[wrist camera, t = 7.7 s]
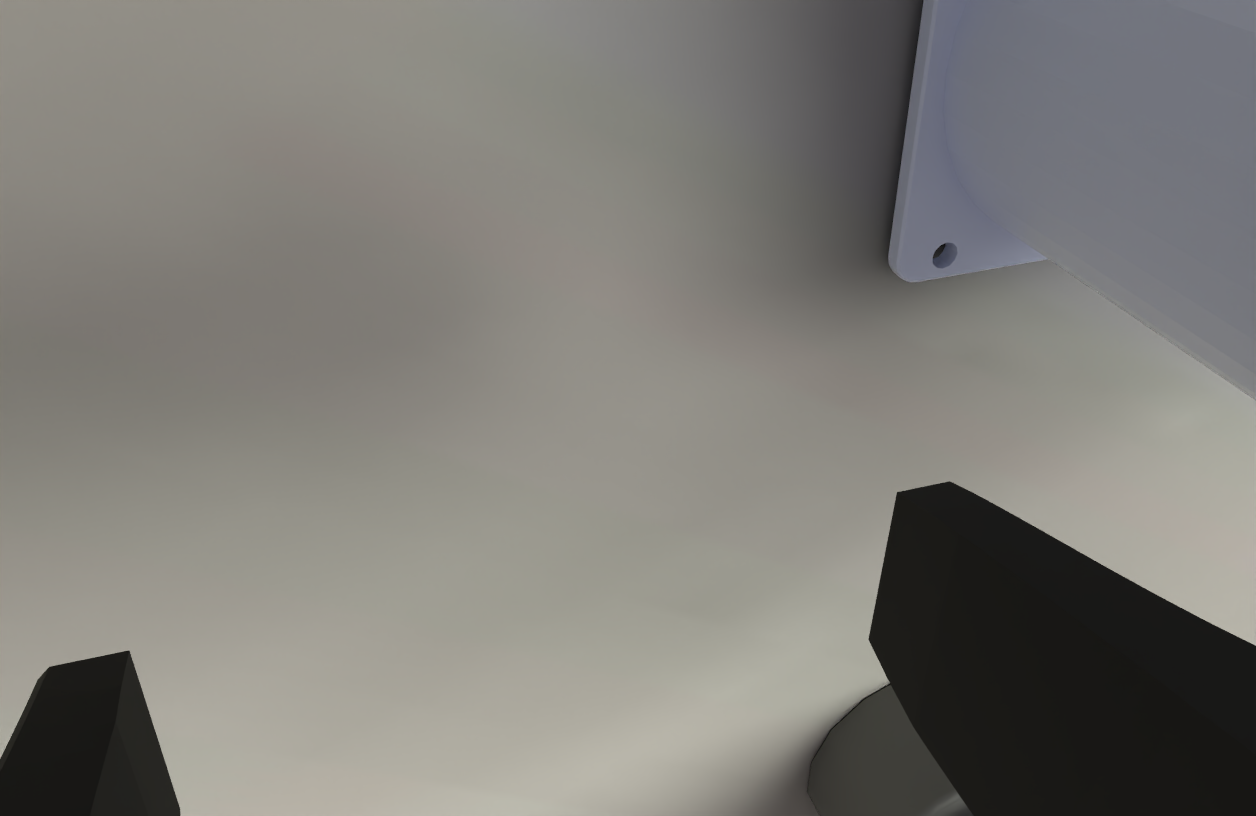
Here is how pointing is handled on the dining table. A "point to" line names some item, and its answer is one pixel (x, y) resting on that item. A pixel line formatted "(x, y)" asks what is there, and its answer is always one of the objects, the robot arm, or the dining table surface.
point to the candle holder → (880, 767)
